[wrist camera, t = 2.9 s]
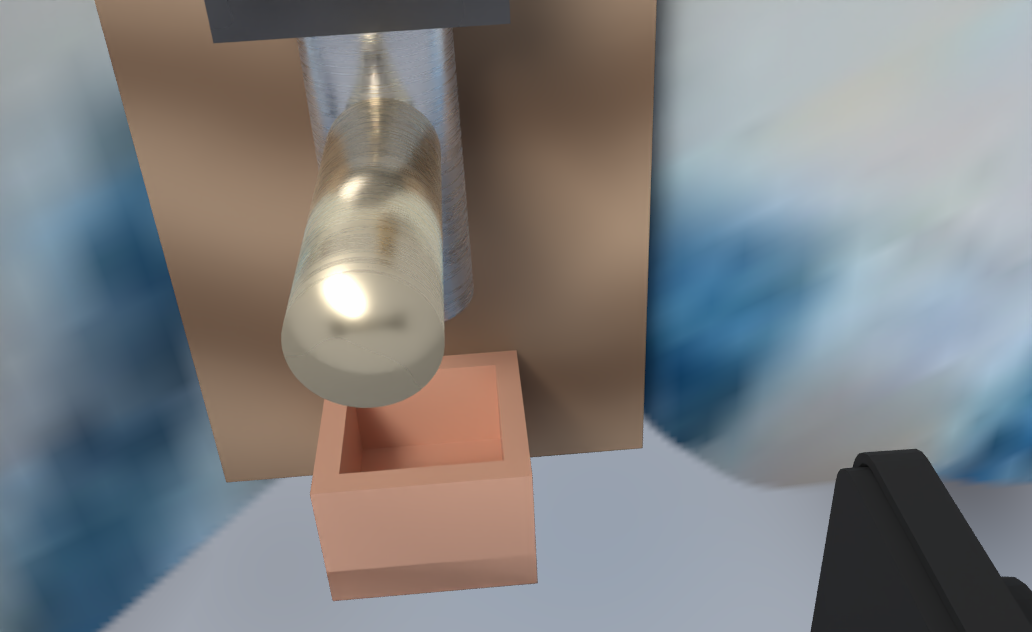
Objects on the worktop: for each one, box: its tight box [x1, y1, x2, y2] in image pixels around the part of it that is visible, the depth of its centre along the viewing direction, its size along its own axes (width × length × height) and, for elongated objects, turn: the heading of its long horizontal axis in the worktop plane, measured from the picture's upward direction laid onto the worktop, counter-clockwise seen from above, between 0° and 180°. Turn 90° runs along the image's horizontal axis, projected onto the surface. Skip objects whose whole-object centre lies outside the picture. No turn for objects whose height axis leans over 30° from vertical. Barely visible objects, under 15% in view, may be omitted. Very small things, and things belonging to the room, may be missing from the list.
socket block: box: [310, 350, 538, 601], centre depth 25 cm, size 4×5×5 cm
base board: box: [95, 0, 657, 482], centre depth 23 cm, size 23×12×2 cm, turn 3°
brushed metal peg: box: [281, 28, 474, 408], centre depth 16 cm, size 15×3×10 cm, turn 3°
